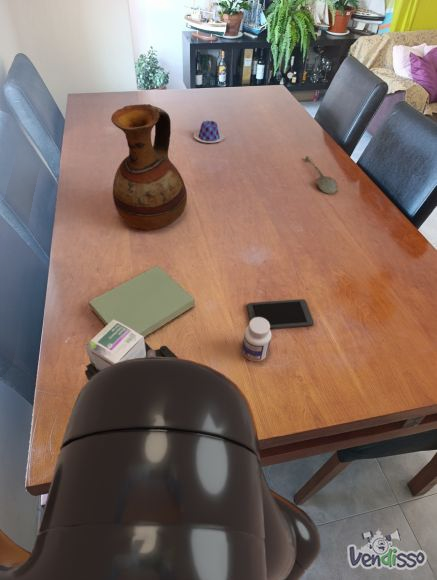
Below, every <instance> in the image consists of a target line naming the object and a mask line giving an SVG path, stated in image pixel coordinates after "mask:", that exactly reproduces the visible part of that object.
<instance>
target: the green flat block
mask: <svg viewBox="0 0 437 580" xmlns="http://www.w3.org/2000/svg"><path fill="white" fill-rule="evenodd" d="M195 299H196V298H194V297H193V296H192V295H191V294H190V293H189V292H188V291H187V290H185V289H184V287H182V286H181V285H180V284H179V283H178V282H177V281H176V280H174V279H173V278H172V277H171V276H170V275H169V274H168V273H167V272H166V271H165V270H164V269H163V268H161V267H160V266H159V265H158V264H157V265H155V266H153V267H152V268H150V269H147V270H146V271H144V272H142V273H139V274H138V275H136V276H134V277H132V278H130V279H129V280H127V281H125V282H123V283H120V284H119V285H117V286H115V287H113V288H111V289H109V290H108V291H106V292H104V293H102V294H101V295H98V296H97V297H95V298H92V299H91V300H89V301H88V303H89V307H90V309H91V310H92V311H93V312H94V313H95V315H96V316H97V317H98V319H100V320H101V322H102V323H103V324H104V325H105V327H106V326H107V325H108V324H109V323H110V322H111V321H112V320H113V319H114V320H116V321H118V322H120V323H122V324H124V325H125V326H127V327H129V328H130V329H132V330H134V331H135V332H137V333H138V334H140V335H142V336H144V338H145V337H147V336H148V335H150V334H152V333H153V332H154V331H156V330H158V329H159V328H161V327H162V326H164V325H166V324H167V323H169V322H171V321H172V320H174V319H175V318H177V317H178V316H180V315H182V314H183V313H185V312H187V311H188V310H190V309H191V308H193V307H195V305H196V303H195V301H196V300H195Z"/></svg>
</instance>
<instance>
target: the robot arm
mask: <svg viewBox="0 0 437 580" xmlns="http://www.w3.org/2000/svg"><path fill="white" fill-rule="evenodd" d="M144 342H145V349H146V356H147V357H144V358H135V359H129V360H125V361H121V362H118V363H115V364H113V365H110V366H107V367H105V368H104V369H102V370H101V371H99V372H97V371H96V370H95V368H94V367H93V366H92V364H91V362H90V363H88V364H87V365H86V370H84V375H85V377H86V379H87V382H86V383H85V384H84V386H83V387H82V388H81V390H80V392H79V393H78V395H77V398H76V400H75V402H74V405H73V408H72V410H71V413H70V416H69V419H68V421H67V425H66V428H65V431H64V434H63V437H62V441H61V444H60V448H59V453H58V455H57V459H56V463H55V466H54V471H53V474H52V478H51V481H50V485H49V488H48V493H47V497H46V501H45V504H44V507H43V511H42V515H41V518H40V523H39V526H38V530H37V535H36V538H35V540H34V541H35V542H34V545H33V548H32V551H28V550H27V549H25V548H23V547H22V546H20V545H19V544H18V543H16V541H14V540H13V539H11V538H10V537H9V536H8V535H7V534H6V533H5V532H4V531H3V530H2V529H1V528H0V580H301V579H302V578H303V576H304V575H305V574H306V571H308V570H309V569H310V567H312V565H313V564H314V563H315V561H316V560H317V559H318V557H319V555H320V554H321V552H322V551H321V550H322V540H321V535H320V532H319V529H318V526H317V525H316V524H315V521H314V520H313V519H312V517H311V516H310V515H309V514H308V513H307V512H306V511H304V509H303V508H301V507H299V506H298V505H297V504H296V503H294V502H292V501H290V500H289V499H287V498H286V497H284V496H282V495H281V494H280V493H277V492H276V491H274V490H273V489H272V488H270V486H269V484H268V481H267V479H266V476H265V474H264V470H263V468H262V465H261V449H260V448H261V447H260V441H259V435H258V430H257V425H256V421H255V417H254V413H253V409H252V408H251V404H250V402H249V399H248V398H247V397H246V395H245V394H244V392H243V390H241V388H240V387H239V386H238V384H236V383H235V382H234V381H233V380H231V378H229V377H228V376H226V374H224V373H222V372H221V371H218V370H216V369H215V368H213V367H211V366H210V365H206V364H202V363H200V362H196V361H195V360H191V359H185V358H179V357H178V356H177V355H176V354H175V352H173V351H172V350H171V349H170V347H168V346H166V345H161V346H160V347H159V348H157V349H154V348H151V346H150V345H149V344H148V343H147V342H146V340H144Z"/></svg>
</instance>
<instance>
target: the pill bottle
mask: <svg viewBox="0 0 437 580" xmlns="http://www.w3.org/2000/svg"><path fill="white" fill-rule="evenodd" d="M244 329H245V330H244V333H243V341H242V342H243V343H242V354H243V356H244V357H245V358H246V359H247V360H249V361H252V362H260V361H263V360H264V359H265V358H266V357H267V356H268V353H269V349H270V345H271V342H272V331H271V329H270V324H269V322H268V321H267V320H266V319H264V318H262V317H255V318H253V319H252V320H251V321H250V320H249V323H248V325H247V327H246V328H244Z"/></svg>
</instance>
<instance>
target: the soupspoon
mask: <svg viewBox="0 0 437 580" xmlns="http://www.w3.org/2000/svg"><path fill="white" fill-rule="evenodd" d="M305 160H306V161H308V162H309V163H311V165H312V166H313V168H314V169H315V170H316V172H317V173H318V175H319V176H318V177H317V179H316V184H317V187H318V188H319V190H321V191H322V192H323V193H325V194H328V195H333V194H335V193H336V192H337V191H338V189H339V185H338V183H337V181H336V180H335V179H334V178H332V177H331V176H326V175H324V174H323V172H322V171H321V170H320V169H319V167H318V166H317V165H316V164H315V162H314V161H313V160H312V159H311V156H310V155H306V156H305Z"/></svg>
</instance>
